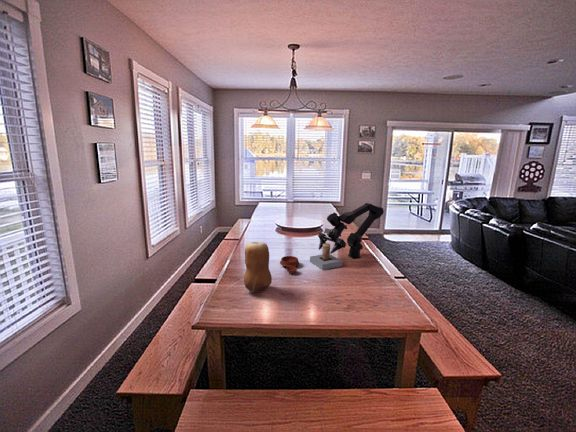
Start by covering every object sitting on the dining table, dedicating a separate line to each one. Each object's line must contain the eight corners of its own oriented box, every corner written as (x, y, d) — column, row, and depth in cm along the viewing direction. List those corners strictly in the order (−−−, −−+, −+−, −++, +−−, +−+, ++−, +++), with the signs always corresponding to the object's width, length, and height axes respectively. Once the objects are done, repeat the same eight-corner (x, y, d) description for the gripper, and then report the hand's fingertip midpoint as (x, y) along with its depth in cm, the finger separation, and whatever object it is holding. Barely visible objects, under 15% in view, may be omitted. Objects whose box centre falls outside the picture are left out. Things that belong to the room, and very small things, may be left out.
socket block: (328, 258, 190) (328, 253, 189) (341, 266, 178) (342, 260, 177) (309, 261, 184) (310, 256, 183) (322, 270, 172) (322, 264, 171)
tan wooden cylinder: (328, 262, 183) (329, 243, 181) (330, 265, 179) (331, 245, 176) (320, 262, 183) (321, 243, 180) (322, 265, 178) (323, 246, 175)
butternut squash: (257, 281, 155) (257, 236, 149) (277, 290, 146) (277, 242, 141) (237, 291, 144) (236, 242, 138) (257, 300, 136) (257, 249, 130)
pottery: (297, 262, 183) (298, 255, 182) (302, 275, 164) (302, 268, 163) (279, 262, 182) (279, 255, 181) (281, 276, 163) (281, 268, 162)
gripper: (320, 220, 184) (307, 240, 180) (344, 226, 171) (331, 248, 166) (328, 230, 191) (315, 249, 187) (351, 237, 178) (338, 258, 173)
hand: (324, 251), depth 178 cm, fingers open, 9 cm apart
